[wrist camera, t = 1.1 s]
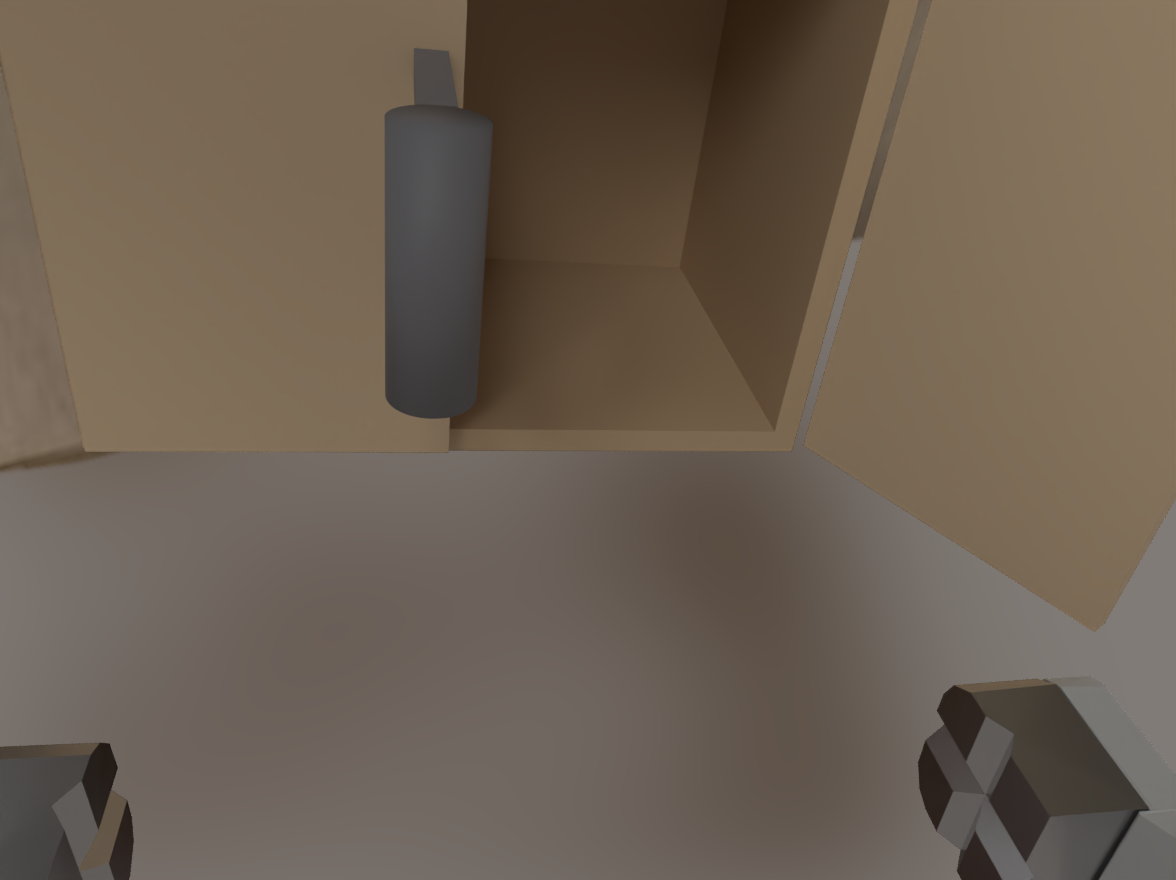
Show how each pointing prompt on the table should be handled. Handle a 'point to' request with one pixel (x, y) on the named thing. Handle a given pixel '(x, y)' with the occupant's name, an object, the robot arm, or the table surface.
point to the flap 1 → (256, 217)
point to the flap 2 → (1022, 296)
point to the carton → (664, 213)
